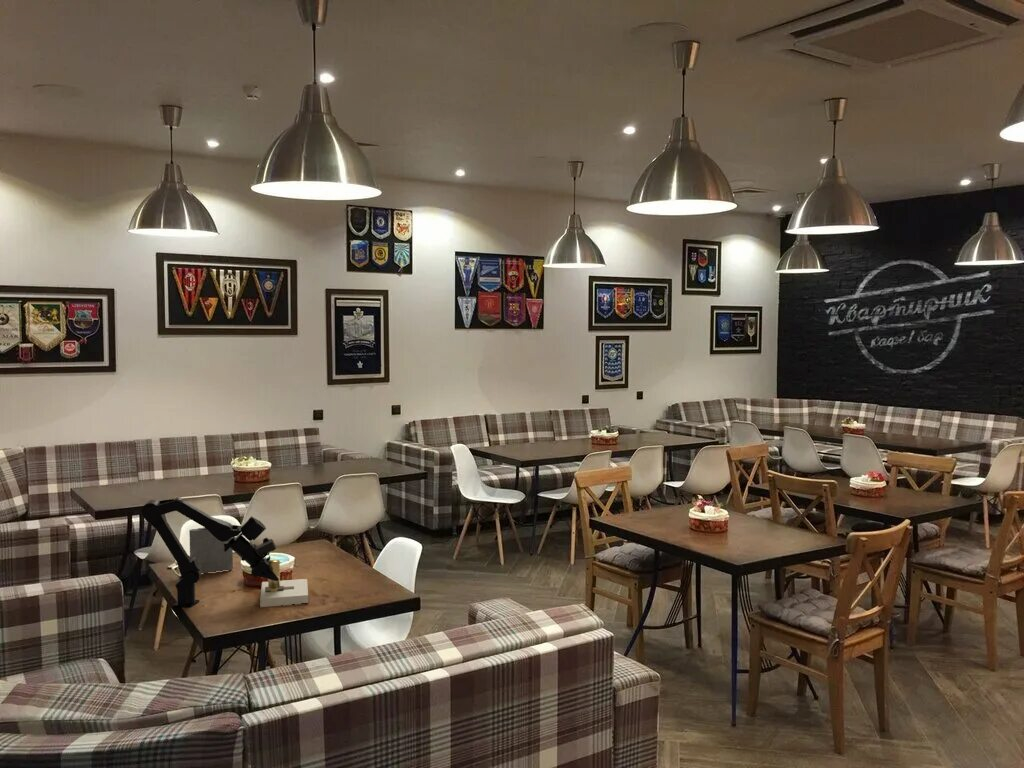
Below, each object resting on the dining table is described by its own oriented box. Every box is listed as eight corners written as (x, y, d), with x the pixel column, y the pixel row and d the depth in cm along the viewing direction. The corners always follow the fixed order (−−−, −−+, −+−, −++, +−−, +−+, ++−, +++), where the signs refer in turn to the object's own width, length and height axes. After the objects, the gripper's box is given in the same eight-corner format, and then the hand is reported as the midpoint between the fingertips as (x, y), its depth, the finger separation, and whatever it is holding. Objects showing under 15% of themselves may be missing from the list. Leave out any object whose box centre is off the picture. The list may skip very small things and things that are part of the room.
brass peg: (276, 599, 294) (276, 563, 293) (264, 598, 295) (264, 562, 295) (283, 595, 299) (283, 559, 298) (271, 594, 300) (271, 558, 299)
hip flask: (232, 568, 333) (231, 519, 332) (233, 571, 330) (232, 521, 329) (190, 573, 327) (189, 523, 326) (190, 576, 323) (189, 525, 322)
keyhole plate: (260, 607, 286) (260, 598, 286) (262, 590, 306) (262, 582, 305) (308, 603, 290) (308, 595, 290) (307, 586, 310) (307, 578, 309)
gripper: (261, 539, 286) (294, 568, 289) (262, 527, 304) (294, 555, 307) (237, 563, 284) (271, 592, 288) (240, 549, 302) (272, 577, 306)
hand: (278, 578), depth 297 cm, fingers closed on brass peg, 4 cm apart
